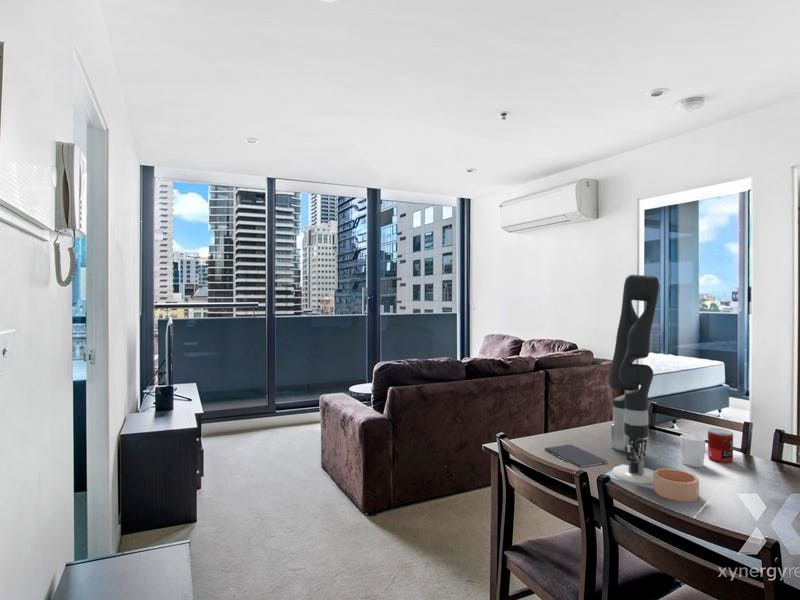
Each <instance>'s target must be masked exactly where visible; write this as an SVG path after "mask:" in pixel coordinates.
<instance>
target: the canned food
mask: <svg viewBox="0 0 800 600" xmlns="http://www.w3.org/2000/svg"><path fill="white" fill-rule="evenodd" d="M707 456H708V457H707V458H708V459H709V460H711V461H712V462H715V463H720V464H732V463H733V460H734V432H733V431H730V430H727V429H725V428H719V427H718V428H716V427H715V428H711V427H710V428H708V429H707Z"/></svg>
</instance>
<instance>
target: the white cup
mask: <svg viewBox="0 0 800 600" xmlns="http://www.w3.org/2000/svg"><path fill="white" fill-rule="evenodd" d="M680 452H681V454H680V455H681V463H682V464H683V465H686V466H688V467H692V468H703V467H704V463H705V460H704V459H705V455H706V453H705V452H706V438H705V437H704V436H701V435H697V434H692V433H684V434H680Z"/></svg>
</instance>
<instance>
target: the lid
mask: <svg viewBox="0 0 800 600" xmlns="http://www.w3.org/2000/svg"><path fill="white" fill-rule="evenodd" d="M632 458H633V457H632ZM612 470H613V475H614V476H616V477H617V478H619V479H621V480H624V481H627V482H626V483H628V482H631V483H637V484H653V472H654V471H655V470H654V469H651V468H648V467H645V459H644V458H643V459H641V458H638V473H637V474H636V473H632V472H631V461H628V464H625V465H623V466H619V465H618V466H617V465H616V466H615V467H613V468H612ZM624 481H623V482H624ZM631 483H630V484H631Z"/></svg>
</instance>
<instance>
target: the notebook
mask: <svg viewBox="0 0 800 600" xmlns="http://www.w3.org/2000/svg"><path fill="white" fill-rule="evenodd" d="M545 450H547V451H549V452H551V453H553V454H555V455H557V456H560V457H562V458H564V459H566V460H568V461H570V462H572V463H573V465H574V464H575V466H576V465H577V466H576V467H578V468H583V467H584V468H585V467H592V466H599V465H605V464H607V463H608V460H606V459H605V458H602V457H600V456H597V455H595V454H593V453H590V452H589V451H587V450H584V449H582V448H580V447H578V446H576V445H573V444H564V445H558V446H550V447H544V451H545ZM547 451H546V452H547ZM549 452H548V453H549ZM551 453H550V454H551ZM553 454H552V455H553ZM555 455H554V456H555ZM557 456H556V457H557ZM570 462H569V463H570ZM572 463H571V464H572Z"/></svg>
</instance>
